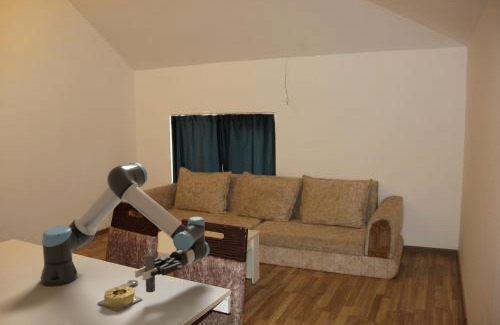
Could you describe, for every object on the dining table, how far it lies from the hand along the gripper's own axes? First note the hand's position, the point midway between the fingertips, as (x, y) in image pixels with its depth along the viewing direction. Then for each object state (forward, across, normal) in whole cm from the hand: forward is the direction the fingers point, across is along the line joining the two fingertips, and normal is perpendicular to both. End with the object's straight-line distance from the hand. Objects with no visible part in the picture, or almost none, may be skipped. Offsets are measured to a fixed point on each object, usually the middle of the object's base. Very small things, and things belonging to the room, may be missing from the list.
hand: (139, 275), depth 155 cm
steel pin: (-5, 0, -8) cm, 10 cm away
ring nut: (+2, +10, -13) cm, 16 cm away
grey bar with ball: (-8, +19, -13) cm, 24 cm away
